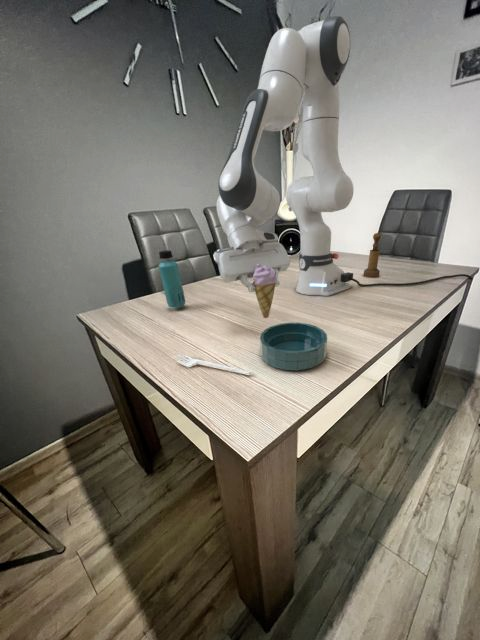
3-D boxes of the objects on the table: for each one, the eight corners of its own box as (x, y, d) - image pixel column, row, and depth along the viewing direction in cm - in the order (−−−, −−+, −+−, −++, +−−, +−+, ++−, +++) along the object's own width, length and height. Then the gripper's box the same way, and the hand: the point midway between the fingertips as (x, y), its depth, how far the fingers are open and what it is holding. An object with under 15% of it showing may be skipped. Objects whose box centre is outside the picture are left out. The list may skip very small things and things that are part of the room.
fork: (246, 380, 58) (246, 372, 57) (172, 363, 66) (171, 357, 65) (253, 371, 61) (252, 364, 60) (181, 357, 68) (179, 350, 67)
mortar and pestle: (364, 277, 121) (370, 234, 112) (362, 274, 127) (367, 232, 118) (380, 277, 120) (387, 233, 111) (377, 274, 126) (384, 231, 117)
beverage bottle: (182, 311, 96) (169, 252, 86) (164, 311, 97) (150, 252, 87) (189, 305, 101) (179, 248, 91) (173, 305, 103) (161, 249, 93)
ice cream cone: (251, 314, 80) (247, 261, 72) (270, 310, 81) (268, 259, 74) (260, 322, 74) (257, 266, 67) (280, 318, 76) (279, 263, 69)
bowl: (301, 334, 76) (301, 317, 73) (339, 359, 64) (341, 340, 61) (250, 349, 70) (249, 332, 67) (282, 380, 58) (282, 360, 55)
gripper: (212, 242, 69) (231, 289, 66) (281, 233, 77) (301, 275, 74) (209, 258, 75) (227, 302, 72) (274, 247, 82) (292, 287, 80)
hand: (265, 288), depth 73 cm, fingers closed on ice cream cone, 6 cm apart
